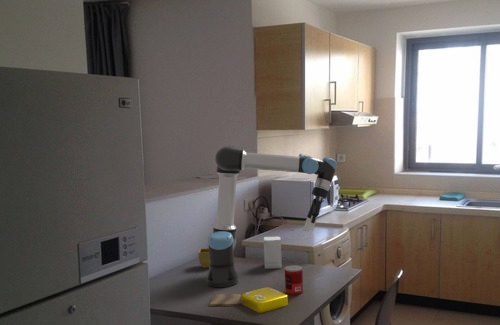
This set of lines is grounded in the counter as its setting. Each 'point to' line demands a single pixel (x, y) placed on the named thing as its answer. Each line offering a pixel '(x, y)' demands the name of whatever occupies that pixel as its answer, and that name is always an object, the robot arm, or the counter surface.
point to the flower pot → (204, 257)
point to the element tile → (264, 299)
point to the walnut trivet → (225, 300)
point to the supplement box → (272, 252)
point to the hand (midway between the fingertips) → (307, 230)
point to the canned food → (293, 280)
